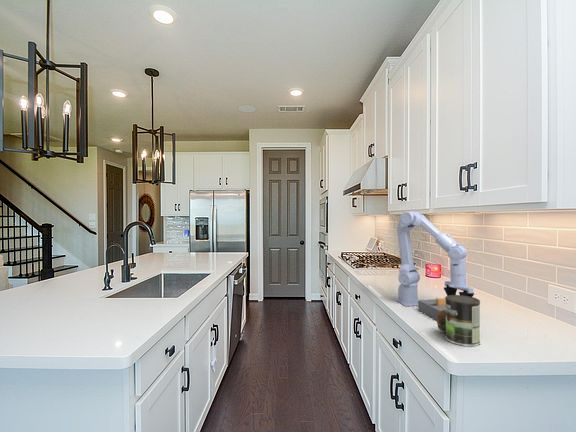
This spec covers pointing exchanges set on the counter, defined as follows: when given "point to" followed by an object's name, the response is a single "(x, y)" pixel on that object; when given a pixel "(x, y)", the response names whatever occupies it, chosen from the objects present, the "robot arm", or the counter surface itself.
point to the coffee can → (463, 320)
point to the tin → (442, 320)
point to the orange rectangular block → (440, 301)
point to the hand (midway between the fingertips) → (458, 306)
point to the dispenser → (430, 308)
